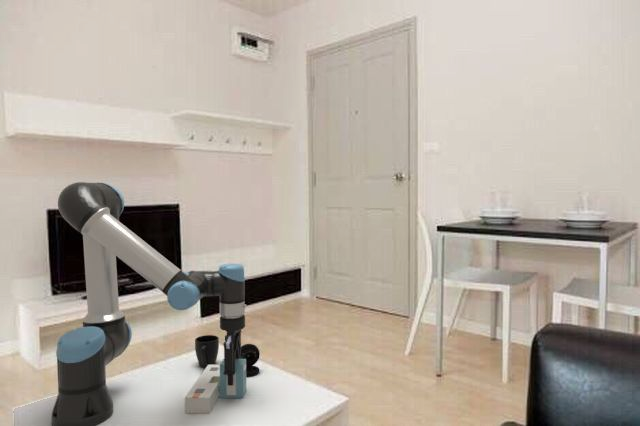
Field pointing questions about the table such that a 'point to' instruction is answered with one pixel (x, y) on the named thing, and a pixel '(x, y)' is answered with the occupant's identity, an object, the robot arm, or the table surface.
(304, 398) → the table surface
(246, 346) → the webcam
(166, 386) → the table surface
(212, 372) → the power strip
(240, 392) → the charger
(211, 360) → the mug
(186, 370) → the table surface
